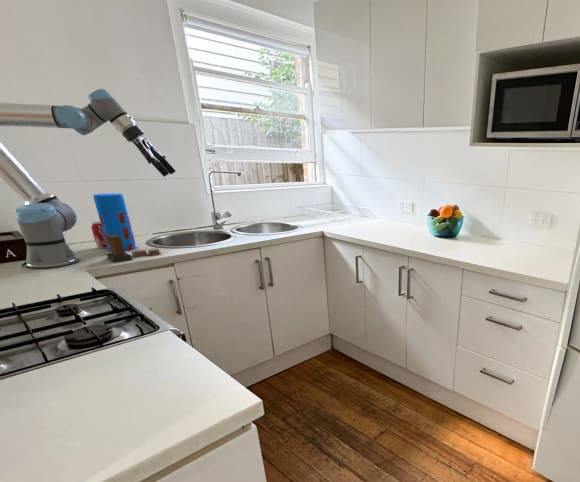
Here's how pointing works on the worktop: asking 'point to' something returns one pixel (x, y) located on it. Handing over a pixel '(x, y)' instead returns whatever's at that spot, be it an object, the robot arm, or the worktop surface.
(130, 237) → the thermos
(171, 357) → the worktop surface
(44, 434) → the worktop surface
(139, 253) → the cork chip
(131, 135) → the robot arm
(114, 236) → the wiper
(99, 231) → the soda can
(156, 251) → the cork chip
